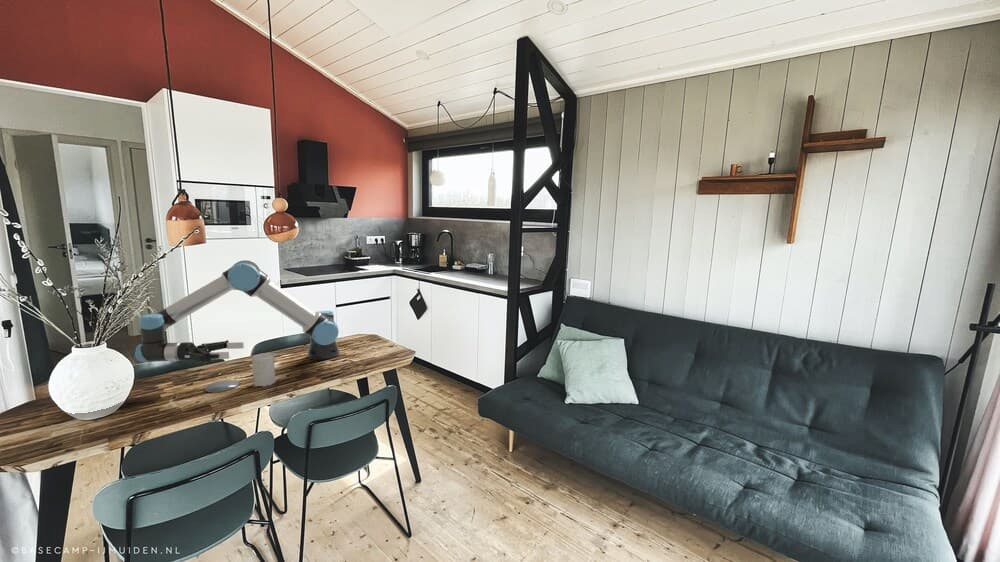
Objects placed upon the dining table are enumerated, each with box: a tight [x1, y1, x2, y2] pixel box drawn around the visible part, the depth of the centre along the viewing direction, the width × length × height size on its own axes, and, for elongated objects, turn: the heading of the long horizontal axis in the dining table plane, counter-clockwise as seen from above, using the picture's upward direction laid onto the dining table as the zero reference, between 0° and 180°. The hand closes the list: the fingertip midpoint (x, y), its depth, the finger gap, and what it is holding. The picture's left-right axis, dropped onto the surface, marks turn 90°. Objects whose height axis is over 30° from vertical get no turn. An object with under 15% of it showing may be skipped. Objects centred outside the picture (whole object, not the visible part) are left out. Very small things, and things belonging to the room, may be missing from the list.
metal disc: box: [204, 379, 240, 394], centre depth 177 cm, size 12×12×1 cm
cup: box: [251, 352, 277, 387], centre depth 181 cm, size 8×8×12 cm
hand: (236, 350), depth 178 cm, fingers open, 13 cm apart
